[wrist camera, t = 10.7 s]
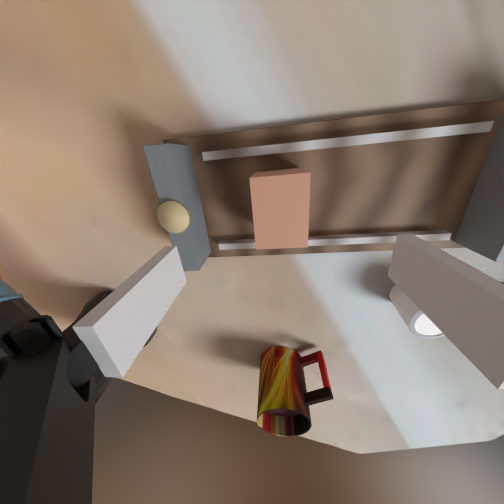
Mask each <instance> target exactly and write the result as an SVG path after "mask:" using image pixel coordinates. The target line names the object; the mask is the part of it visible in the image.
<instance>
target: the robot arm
mask: <svg viewBox="0 0 504 504" xmlns="http://www.w3.org/2000/svg"><path fill="white" fill-rule="evenodd" d="M387 276H388V277H389V278H390V279H391V280H392V281H393V282H394V283H395V284H396V285H397V286H398V287H399V289H400V290H401V291H402V292H403V293H404V294H405V295H406V296H407V297H408V298H409V299H410V300H411V301H412V302H413V303H414V304H415V305H416V306H417V307H418V308H419V309H420V310H421V311H422V312H423V313H424V314H425V315H426V316H427V317H428V318H429V319H430V320H431V321H432V322H433V323H434V324H435V325H436V326H437V327H438V328H439V329H440V330H441V332H442V333H443V334H444V335H445V336H446V337H447V338H448V339H449V340H450V341H451V342H452V343H453V344H454V345H455V346H456V347H457V348H458V349H459V350H460V351H461V352H462V353H463V354H464V355H465V356H466V357H467V358H468V359H469V360H470V361H471V362H472V363H473V364H474V365H475V366H476V367H477V368H478V369H479V370H480V371H481V372H482V373H483V375H484V376H485V377H486V378H487V379H488V380H489V381H490V382H491V383H492V384H493V385H494V386H495V387H496V388H497V389H504V283H503V282H500V281H498V280H496V279H494V278H492V277H490V276H488V275H486V274H485V273H483V272H481V271H479V270H477V269H475V268H474V267H472V266H470V265H468V264H466V263H465V262H463V261H461V260H459V259H457V258H455V257H454V256H452V255H450V254H448V253H446V252H444V251H443V250H441V249H439V248H437V247H435V246H433V245H432V244H430V243H428V242H426V241H424V240H422V239H421V238H419V237H417V236H415V235H413V234H399V235H397V238H396V242H395V246H394V250H393V254H392V258H391V262H390V266H389V271H388V275H387ZM186 282H187V281H186V278H185V274H184V271H183V267H182V263H181V260H180V256H179V253H178V249H177V246H165V247H164V248H163V249H162V250H161V251H159V252H158V253H157V254H156V255H155V256H154V257H152V258H151V259H150V260H149V261H148V262H147V263H145V264H144V265H143V266H142V267H141V268H140V269H139V270H137V271H136V272H135V273H134V274H133V275H132V276H130V277H129V278H128V279H127V280H126V281H125V282H123V283H122V284H121V285H120V286H119V287H118V288H116V289H115V290H113V291H107V292H102V293H99V294H98V295H96V296H95V297H94V298H92V299H91V300H90V301H89V302H88V303H87V304H86V305H85V306H84V308H83V310H82V312H81V313H80V315H79V316H78V317H77V319H76V320H75V322H74V323H72V324H71V325H70V326H69V327H68V328H67V329H65V330H64V331H63V332H61V330H60V329H59V327H58V326H57V324H56V323H55V322H54V320H53V319H52V317H51V316H48V315H42V316H41V315H40V314H39V313H38V312H37V311H36V310H35V309H34V308H33V307H32V306H31V305H30V304H29V303H28V302H26V301H25V300H24V299H23V298H22V297H24V296H23V295H22V294H18V293H17V292H15V291H14V290H13V289H12V288H11V287H9V286H8V285H7V284H6V283H5V282H3V281H2V280H1V279H0V504H92V478H93V477H92V476H93V447H94V418H95V416H94V415H95V404H96V403H97V401H98V400H99V399H100V397H101V396H102V394H103V393H104V391H105V390H106V389H107V387H108V386H109V384H110V383H111V381H112V380H113V379H114V377H122V378H123V377H124V375H125V374H126V372H127V371H128V369H129V368H130V366H131V364H132V363H133V361H134V360H135V358H136V357H137V355H138V354H139V352H140V351H141V349H142V348H143V347H144V346H146V345H147V344H148V343H149V342H150V340H151V339H152V337H153V336H154V334H155V333H156V330H157V325H158V324H159V322H160V321H161V319H162V318H163V316H164V315H165V313H166V312H167V310H168V309H169V307H170V306H171V304H172V303H173V301H174V300H175V298H176V297H177V295H178V294H179V292H180V291H181V289H182V288H183V286H184V285H185V283H186Z"/></svg>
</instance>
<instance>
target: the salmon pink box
mask: <svg viewBox="0 0 504 504" xmlns="http://www.w3.org/2000/svg"><path fill="white" fill-rule="evenodd" d="M310 177H311V172H308V171H306V170H304V169H302V168H292V169H281V170H270V171H260V172H255V173H254V174H253V175H252V176H251V177H250V178H249V179H250V190H251V201H252V212H253V223H254V234H255V245H256V250H258V249H281V248H305V247H308V232H309V205H310Z"/></svg>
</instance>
